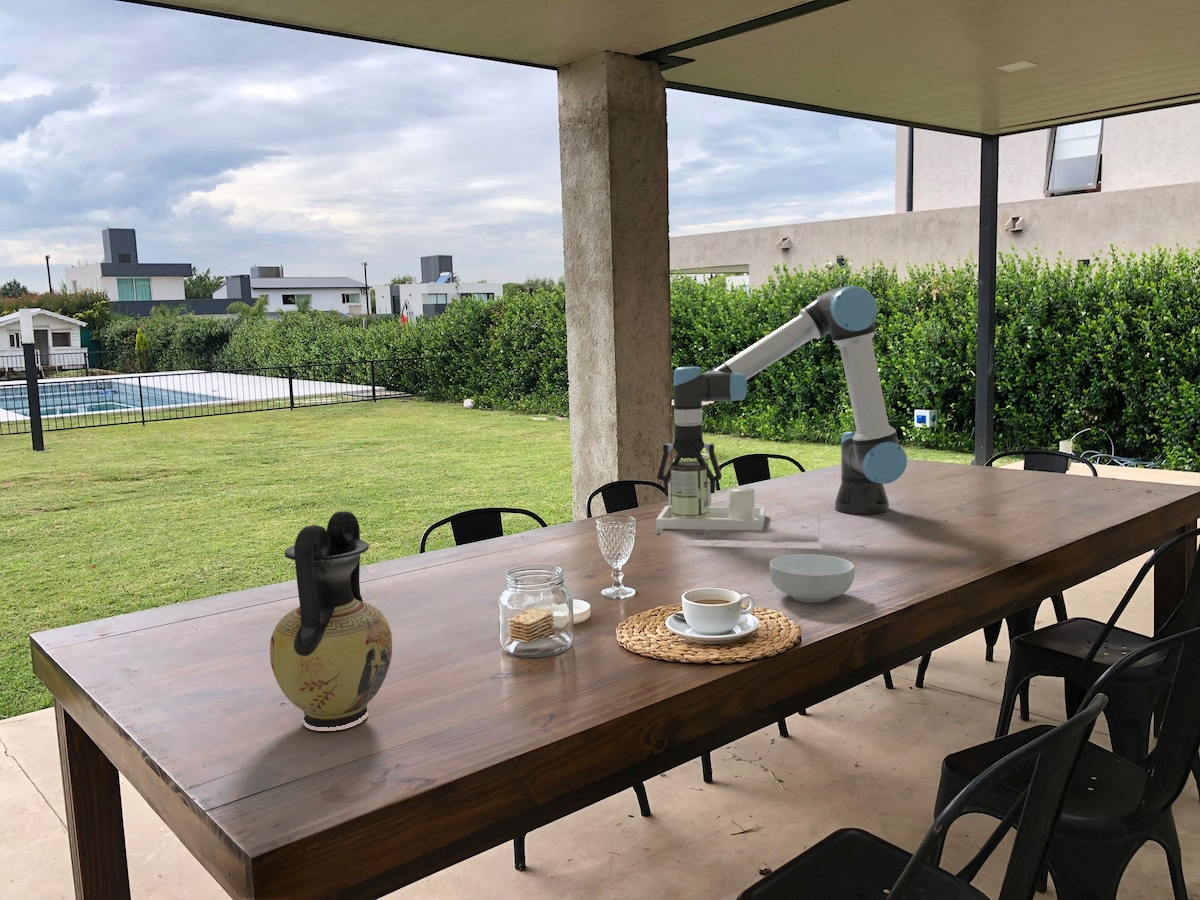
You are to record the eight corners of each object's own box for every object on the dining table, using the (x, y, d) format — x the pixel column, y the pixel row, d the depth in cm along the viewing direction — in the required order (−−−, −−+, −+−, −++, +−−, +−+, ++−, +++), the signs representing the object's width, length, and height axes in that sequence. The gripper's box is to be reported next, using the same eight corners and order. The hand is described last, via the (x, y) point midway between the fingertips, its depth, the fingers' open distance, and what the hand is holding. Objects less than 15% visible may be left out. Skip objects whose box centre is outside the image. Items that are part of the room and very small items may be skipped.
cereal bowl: (839, 614, 176) (839, 578, 175) (756, 603, 184) (756, 568, 183) (864, 591, 190) (865, 557, 189) (787, 581, 199) (787, 549, 198)
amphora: (377, 746, 126) (363, 530, 122) (255, 747, 127) (237, 533, 123) (409, 694, 143) (397, 504, 139) (302, 696, 144) (287, 507, 140)
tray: (765, 521, 258) (765, 507, 258) (762, 535, 241) (762, 520, 240) (665, 519, 264) (665, 505, 264) (656, 533, 247) (655, 519, 246)
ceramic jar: (755, 519, 253) (755, 487, 252) (753, 525, 247) (753, 492, 245) (729, 519, 255) (729, 487, 254) (727, 525, 248) (727, 492, 247)
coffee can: (671, 511, 259) (670, 461, 257) (708, 510, 258) (707, 460, 256) (670, 519, 249) (669, 467, 247) (709, 518, 248) (708, 466, 246)
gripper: (731, 422, 251) (732, 502, 254) (649, 423, 256) (651, 502, 259) (729, 425, 244) (730, 508, 247) (644, 426, 249) (646, 507, 252)
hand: (689, 505), depth 253 cm, fingers closed on coffee can, 10 cm apart
